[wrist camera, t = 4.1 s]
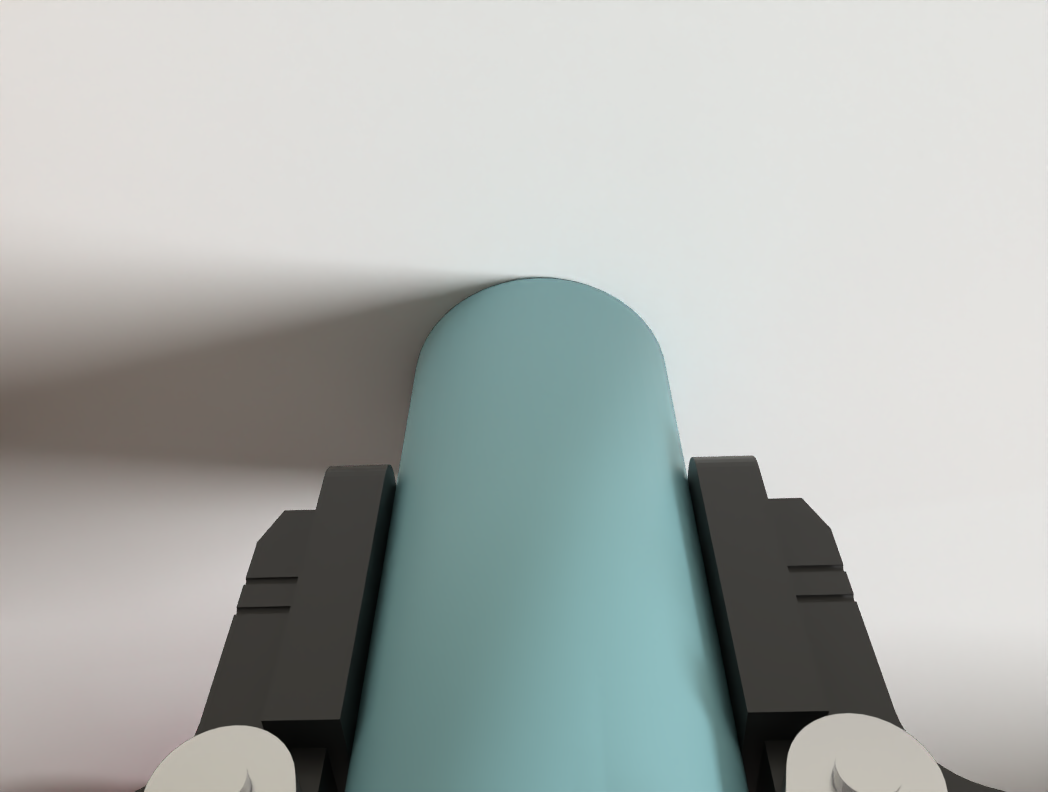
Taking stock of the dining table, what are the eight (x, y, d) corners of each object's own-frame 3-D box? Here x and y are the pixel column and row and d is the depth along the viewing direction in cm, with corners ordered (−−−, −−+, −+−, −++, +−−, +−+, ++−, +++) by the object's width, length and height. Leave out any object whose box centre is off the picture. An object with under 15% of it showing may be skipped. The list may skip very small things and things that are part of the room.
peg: (673, 273, 13) (905, 1242, 5) (661, 480, 15) (811, 1397, 7) (401, 282, 13) (193, 1246, 5) (428, 487, 15) (310, 1397, 7)
